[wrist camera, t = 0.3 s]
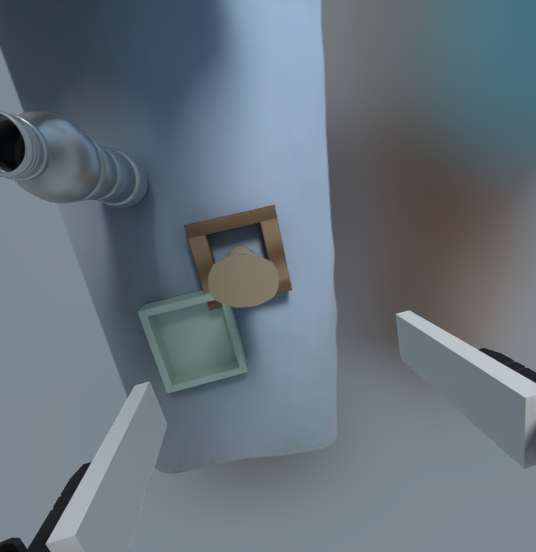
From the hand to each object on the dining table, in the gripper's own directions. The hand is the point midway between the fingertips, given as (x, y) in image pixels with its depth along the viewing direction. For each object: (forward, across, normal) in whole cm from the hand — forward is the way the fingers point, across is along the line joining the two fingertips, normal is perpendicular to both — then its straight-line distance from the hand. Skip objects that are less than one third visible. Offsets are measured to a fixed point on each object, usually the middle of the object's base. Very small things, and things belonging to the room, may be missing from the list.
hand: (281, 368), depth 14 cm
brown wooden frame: (+27, -1, +2) cm, 27 cm away
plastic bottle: (+27, -13, +15) cm, 33 cm away
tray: (+26, -10, -8) cm, 29 cm away
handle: (+27, -1, +2) cm, 27 cm away
